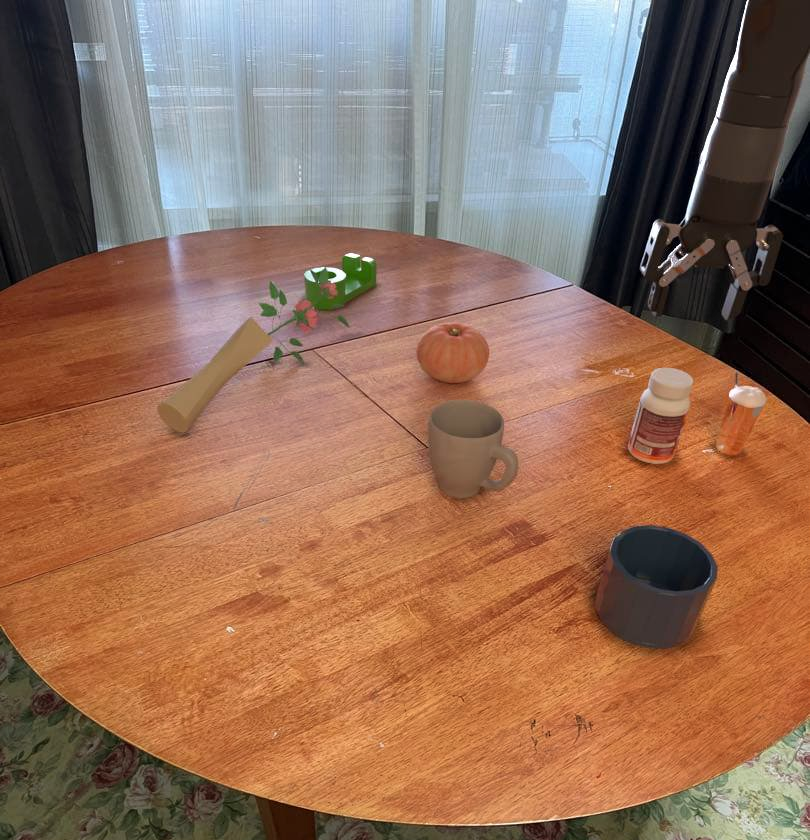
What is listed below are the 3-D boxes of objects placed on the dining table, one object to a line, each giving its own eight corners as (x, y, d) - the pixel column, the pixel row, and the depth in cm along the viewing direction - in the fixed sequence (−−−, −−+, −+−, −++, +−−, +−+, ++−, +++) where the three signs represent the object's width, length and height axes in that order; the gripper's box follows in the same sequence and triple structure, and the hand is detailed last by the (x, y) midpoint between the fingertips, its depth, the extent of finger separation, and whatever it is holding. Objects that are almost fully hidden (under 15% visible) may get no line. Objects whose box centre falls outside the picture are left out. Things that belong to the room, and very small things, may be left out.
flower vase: (176, 464, 108) (306, 324, 126) (236, 471, 101) (365, 322, 120) (129, 396, 100) (276, 259, 119) (191, 399, 94) (336, 252, 112)
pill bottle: (680, 464, 100) (706, 388, 93) (636, 466, 99) (659, 390, 92) (662, 439, 105) (686, 364, 98) (620, 440, 104) (640, 365, 97)
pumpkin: (474, 357, 121) (480, 309, 116) (495, 391, 113) (502, 341, 108) (408, 361, 119) (411, 312, 114) (424, 396, 111) (427, 345, 106)
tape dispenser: (330, 312, 131) (330, 286, 128) (297, 302, 134) (296, 276, 131) (377, 285, 141) (378, 260, 138) (345, 276, 144) (345, 251, 141)
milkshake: (725, 434, 107) (750, 369, 100) (752, 454, 103) (779, 389, 96) (699, 440, 105) (722, 375, 99) (725, 461, 101) (751, 395, 95)
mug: (409, 485, 94) (413, 418, 88) (453, 456, 99) (460, 391, 93) (487, 528, 88) (498, 460, 82) (529, 495, 94) (542, 428, 87)
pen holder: (679, 579, 83) (699, 526, 78) (707, 651, 75) (732, 597, 71) (586, 576, 83) (601, 523, 78) (605, 647, 75) (623, 593, 70)
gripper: (678, 175, 76) (639, 327, 87) (818, 182, 77) (762, 332, 87) (659, 155, 82) (624, 300, 92) (790, 162, 82) (740, 305, 93)
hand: (691, 316), depth 90 cm, fingers open, 8 cm apart
